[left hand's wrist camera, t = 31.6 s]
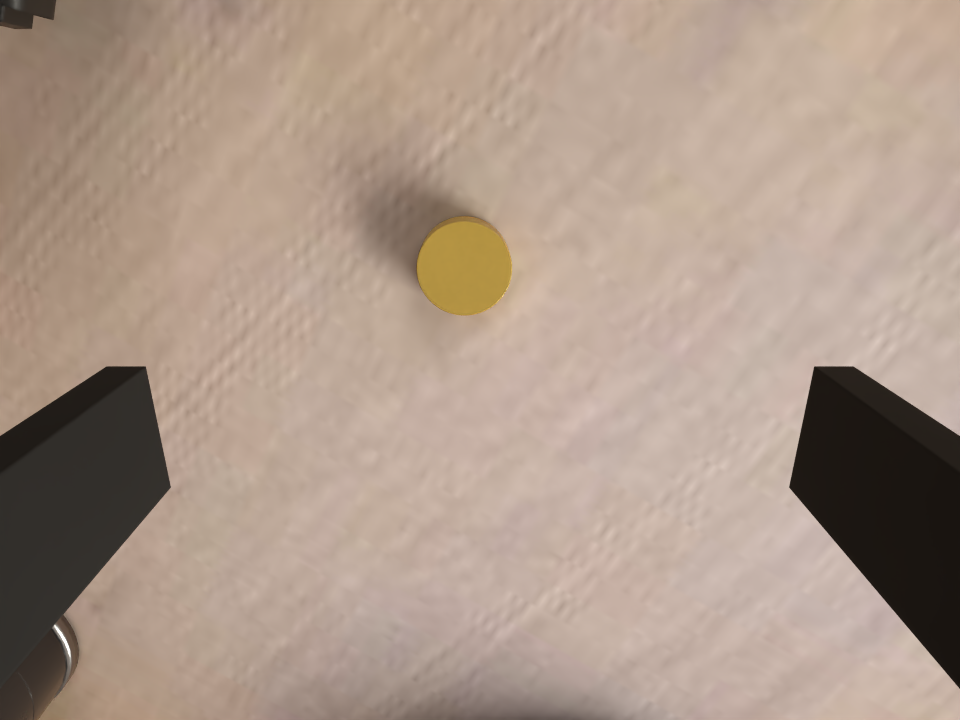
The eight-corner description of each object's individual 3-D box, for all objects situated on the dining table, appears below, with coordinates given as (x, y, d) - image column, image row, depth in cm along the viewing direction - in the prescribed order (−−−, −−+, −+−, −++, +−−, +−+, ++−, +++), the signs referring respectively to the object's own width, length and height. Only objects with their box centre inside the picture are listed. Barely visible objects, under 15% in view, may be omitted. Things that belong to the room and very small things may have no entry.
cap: (484, 199, 28) (485, 203, 26) (524, 281, 29) (527, 290, 28) (402, 241, 29) (398, 248, 27) (445, 320, 30) (444, 330, 28)
